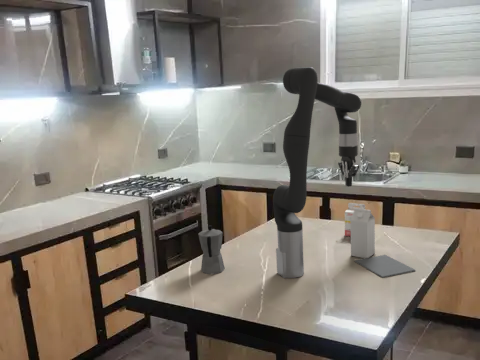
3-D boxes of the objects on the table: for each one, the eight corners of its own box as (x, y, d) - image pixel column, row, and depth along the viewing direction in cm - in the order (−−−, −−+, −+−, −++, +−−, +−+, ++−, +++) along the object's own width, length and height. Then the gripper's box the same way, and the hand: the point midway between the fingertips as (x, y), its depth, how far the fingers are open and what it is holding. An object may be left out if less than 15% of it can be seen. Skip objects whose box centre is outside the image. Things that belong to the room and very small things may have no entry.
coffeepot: (202, 264, 189) (199, 221, 186) (225, 263, 189) (222, 220, 186) (198, 279, 174) (195, 232, 171) (224, 278, 174) (220, 231, 171)
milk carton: (358, 250, 195) (358, 206, 191) (374, 253, 190) (374, 208, 187) (350, 255, 189) (350, 210, 186) (367, 259, 185) (367, 212, 181)
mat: (382, 277, 166) (382, 276, 166) (354, 261, 183) (354, 260, 183) (415, 271, 170) (415, 269, 170) (385, 255, 187) (385, 254, 187)
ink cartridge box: (344, 236, 215) (343, 204, 212) (348, 233, 219) (347, 202, 216) (362, 238, 210) (362, 206, 207) (366, 235, 214) (366, 203, 212)
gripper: (331, 143, 196) (332, 184, 199) (348, 146, 184) (349, 190, 187) (347, 142, 198) (348, 182, 201) (365, 145, 186) (365, 187, 189)
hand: (348, 186), depth 194 cm, fingers closed
